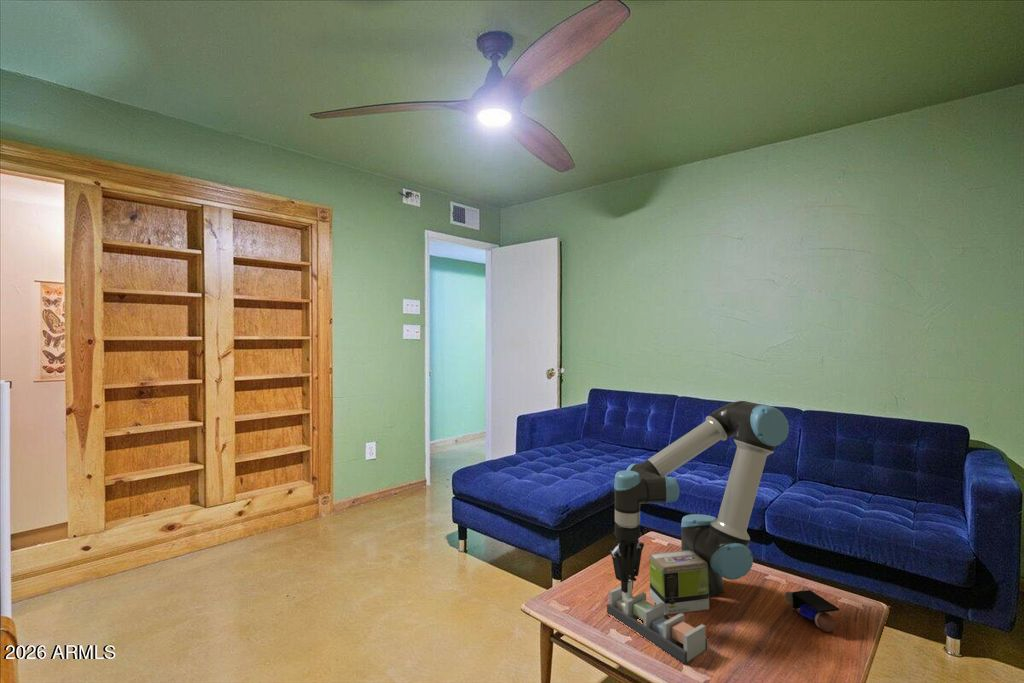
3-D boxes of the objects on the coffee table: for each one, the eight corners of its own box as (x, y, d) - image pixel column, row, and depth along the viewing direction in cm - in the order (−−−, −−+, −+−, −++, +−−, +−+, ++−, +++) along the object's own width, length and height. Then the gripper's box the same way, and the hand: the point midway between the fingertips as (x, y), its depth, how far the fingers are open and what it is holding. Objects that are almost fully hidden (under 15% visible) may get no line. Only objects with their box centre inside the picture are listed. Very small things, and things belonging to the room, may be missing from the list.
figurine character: (784, 612, 147) (821, 636, 132) (782, 586, 148) (819, 607, 133) (803, 610, 148) (843, 634, 133) (801, 585, 148) (840, 605, 134)
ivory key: (626, 605, 146) (626, 596, 146) (638, 612, 142) (638, 603, 142) (616, 610, 143) (616, 601, 143) (628, 617, 139) (628, 608, 139)
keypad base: (629, 604, 148) (629, 582, 148) (707, 650, 126) (707, 624, 126) (606, 614, 143) (606, 592, 143) (684, 664, 121) (684, 638, 121)
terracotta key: (682, 631, 130) (682, 621, 130) (697, 640, 126) (697, 629, 126) (671, 637, 127) (671, 626, 127) (686, 646, 123) (686, 635, 123)
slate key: (662, 626, 135) (662, 617, 135) (675, 634, 131) (675, 624, 131) (651, 632, 132) (651, 622, 132) (665, 640, 129) (665, 630, 129)
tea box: (691, 593, 155) (691, 548, 155) (709, 610, 145) (709, 562, 145) (649, 598, 152) (648, 552, 152) (664, 616, 142) (664, 566, 142)
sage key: (643, 609, 140) (643, 599, 140) (656, 616, 137) (656, 606, 137) (633, 614, 138) (633, 604, 138) (645, 621, 134) (645, 611, 134)
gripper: (632, 515, 149) (632, 589, 149) (602, 524, 142) (602, 602, 142) (651, 522, 143) (651, 600, 143) (621, 532, 136) (621, 614, 136)
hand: (627, 601), depth 143 cm, fingers closed
